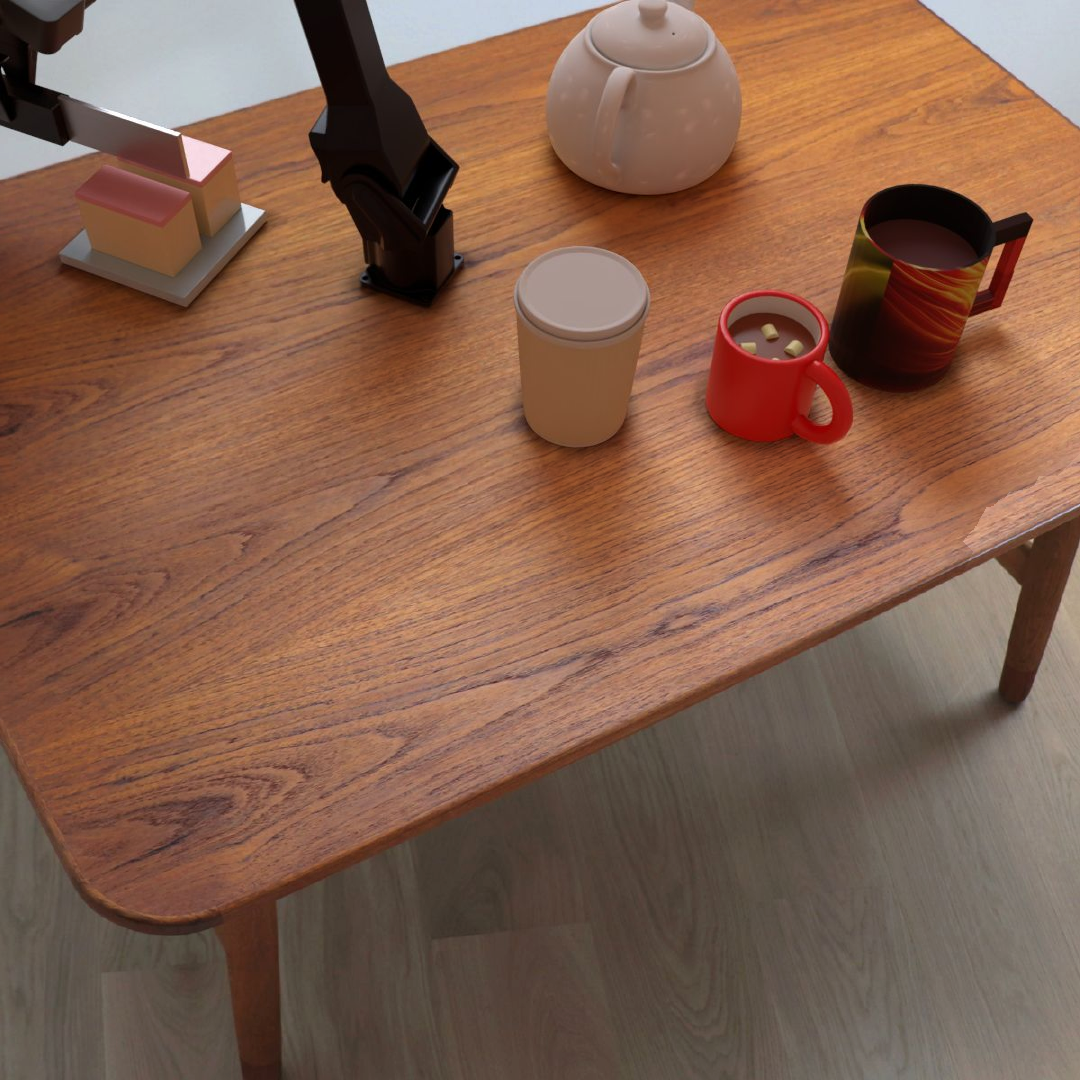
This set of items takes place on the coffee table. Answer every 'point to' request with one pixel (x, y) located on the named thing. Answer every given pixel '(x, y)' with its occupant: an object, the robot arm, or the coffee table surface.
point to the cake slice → (139, 220)
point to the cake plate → (185, 276)
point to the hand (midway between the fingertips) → (17, 112)
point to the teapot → (644, 99)
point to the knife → (93, 127)
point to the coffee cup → (579, 342)
